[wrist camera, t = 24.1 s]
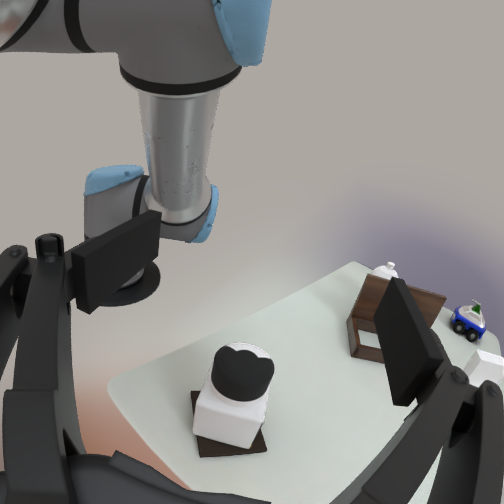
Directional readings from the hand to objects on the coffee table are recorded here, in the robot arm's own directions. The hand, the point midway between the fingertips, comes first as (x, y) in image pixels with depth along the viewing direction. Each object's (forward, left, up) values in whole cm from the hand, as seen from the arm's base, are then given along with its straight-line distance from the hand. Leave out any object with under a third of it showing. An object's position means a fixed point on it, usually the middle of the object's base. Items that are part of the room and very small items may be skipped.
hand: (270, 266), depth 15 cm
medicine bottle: (-6, +3, -26) cm, 26 cm away
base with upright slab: (+2, +45, -26) cm, 52 cm away
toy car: (-18, +73, -26) cm, 79 cm away
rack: (-17, +39, -26) cm, 50 cm away
